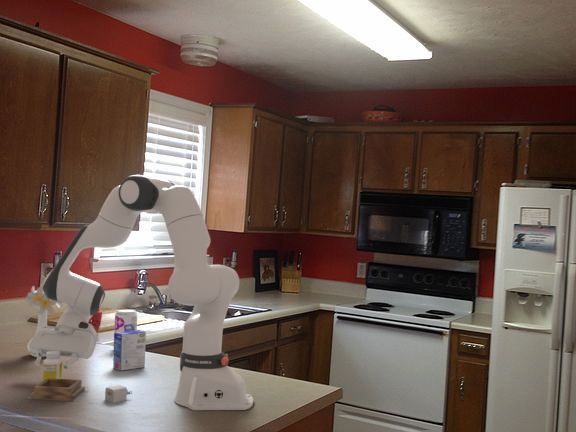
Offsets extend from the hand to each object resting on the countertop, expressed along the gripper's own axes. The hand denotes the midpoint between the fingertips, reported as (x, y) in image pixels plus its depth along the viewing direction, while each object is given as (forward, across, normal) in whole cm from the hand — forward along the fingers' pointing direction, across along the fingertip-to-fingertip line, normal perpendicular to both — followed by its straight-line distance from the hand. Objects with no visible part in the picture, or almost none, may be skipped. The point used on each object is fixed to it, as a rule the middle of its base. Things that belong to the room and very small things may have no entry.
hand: (51, 366), depth 207 cm
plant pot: (-44, -26, +52) cm, 73 cm away
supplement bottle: (+4, 0, +4) cm, 6 cm away
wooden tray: (+11, +8, -4) cm, 14 cm away
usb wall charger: (+9, +26, -1) cm, 28 cm away
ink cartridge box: (-17, +11, +25) cm, 32 cm away
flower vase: (-19, -24, +27) cm, 41 cm away
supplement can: (-35, -2, +43) cm, 55 cm away
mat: (+11, +8, -3) cm, 14 cm away
